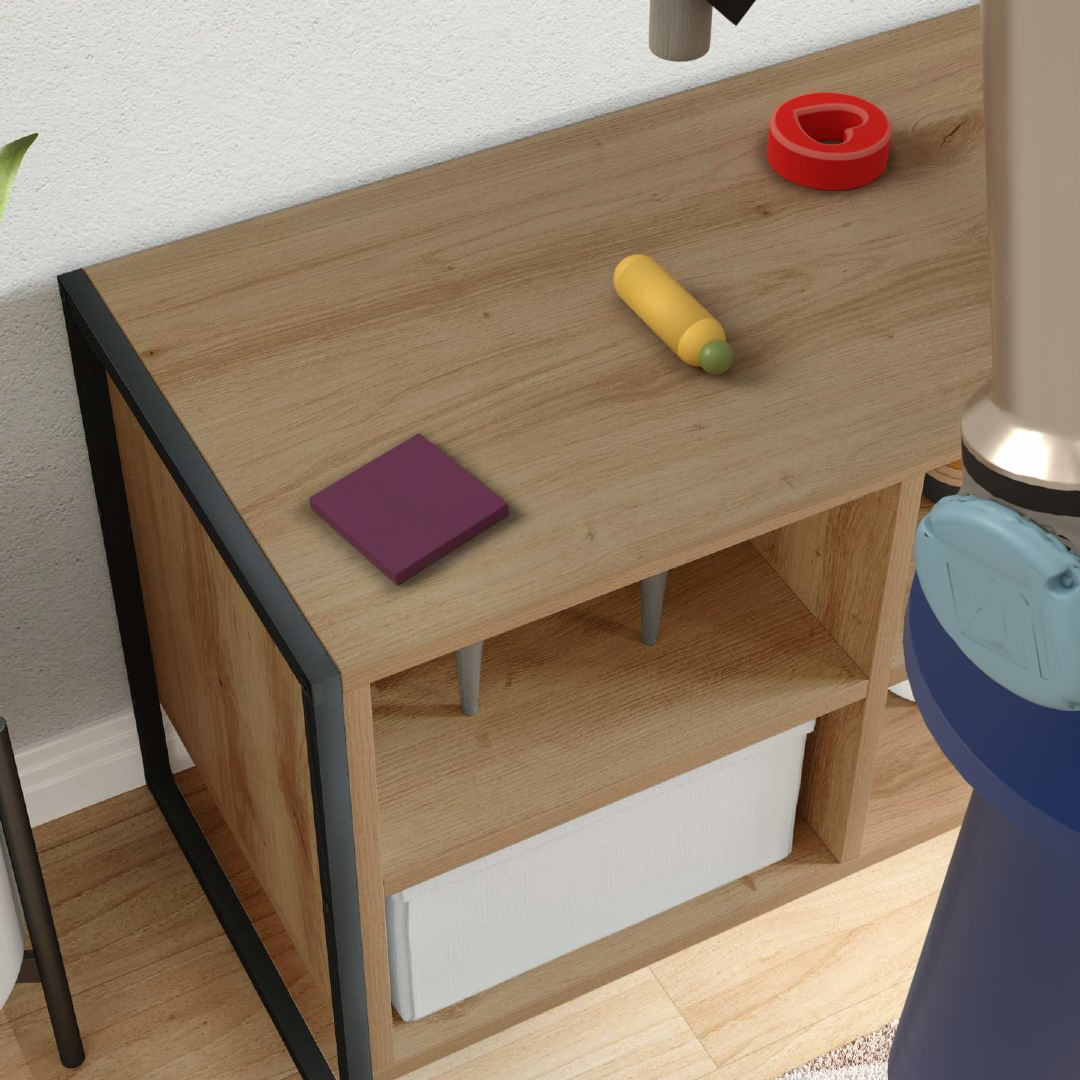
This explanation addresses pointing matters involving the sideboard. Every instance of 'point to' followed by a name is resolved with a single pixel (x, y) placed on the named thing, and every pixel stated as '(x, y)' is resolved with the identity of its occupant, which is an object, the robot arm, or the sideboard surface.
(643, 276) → the corn
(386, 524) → the cloth
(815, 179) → the decorative ornament
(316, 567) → the sideboard surface
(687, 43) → the grey hollow cylinder
